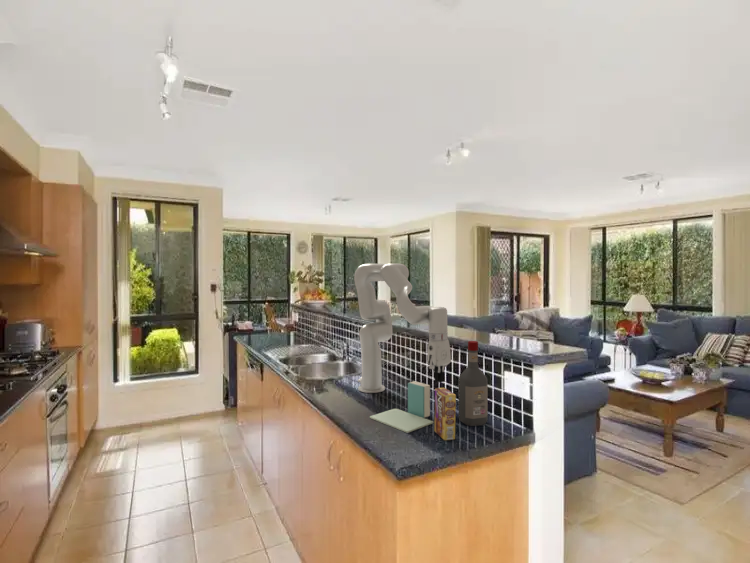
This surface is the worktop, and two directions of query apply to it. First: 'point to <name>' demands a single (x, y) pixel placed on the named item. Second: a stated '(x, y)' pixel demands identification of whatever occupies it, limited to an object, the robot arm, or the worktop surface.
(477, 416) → the liquor
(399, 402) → the worktop surface
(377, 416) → the mat
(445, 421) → the candy box
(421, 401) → the tile
